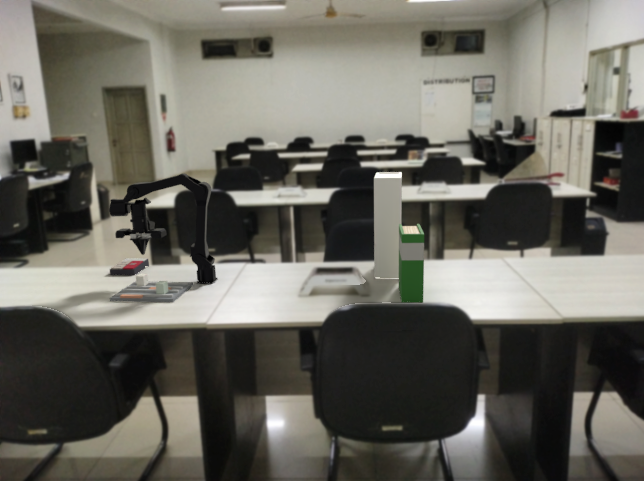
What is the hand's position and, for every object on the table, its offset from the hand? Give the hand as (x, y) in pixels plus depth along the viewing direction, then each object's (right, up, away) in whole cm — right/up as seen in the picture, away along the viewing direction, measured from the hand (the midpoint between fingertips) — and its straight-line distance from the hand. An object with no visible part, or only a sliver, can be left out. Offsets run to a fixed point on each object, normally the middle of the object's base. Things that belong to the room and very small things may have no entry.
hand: (143, 254), depth 209 cm
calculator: (-13, -8, +23) cm, 28 cm away
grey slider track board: (+7, -14, -9) cm, 18 cm away
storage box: (+98, -8, +10) cm, 99 cm away
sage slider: (+12, -14, -15) cm, 24 cm away
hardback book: (+102, -14, -18) cm, 105 cm away
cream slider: (+1, -12, -5) cm, 13 cm away
